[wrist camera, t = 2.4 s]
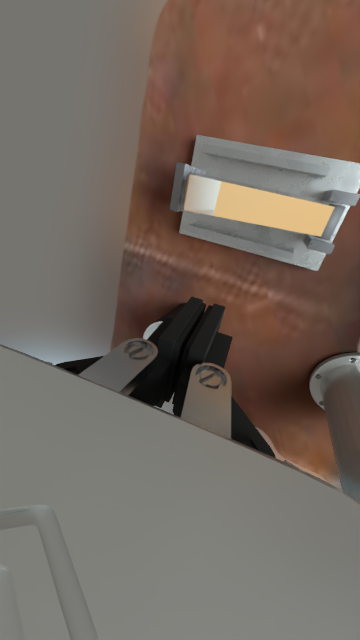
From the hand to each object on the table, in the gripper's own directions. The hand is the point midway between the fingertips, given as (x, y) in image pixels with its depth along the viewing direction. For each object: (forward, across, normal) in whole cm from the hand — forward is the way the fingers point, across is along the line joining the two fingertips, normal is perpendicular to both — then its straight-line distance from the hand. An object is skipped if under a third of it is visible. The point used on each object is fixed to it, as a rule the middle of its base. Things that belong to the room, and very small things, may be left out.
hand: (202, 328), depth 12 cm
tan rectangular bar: (+19, -1, -5) cm, 19 cm away
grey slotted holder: (+28, 0, -4) cm, 28 cm away
